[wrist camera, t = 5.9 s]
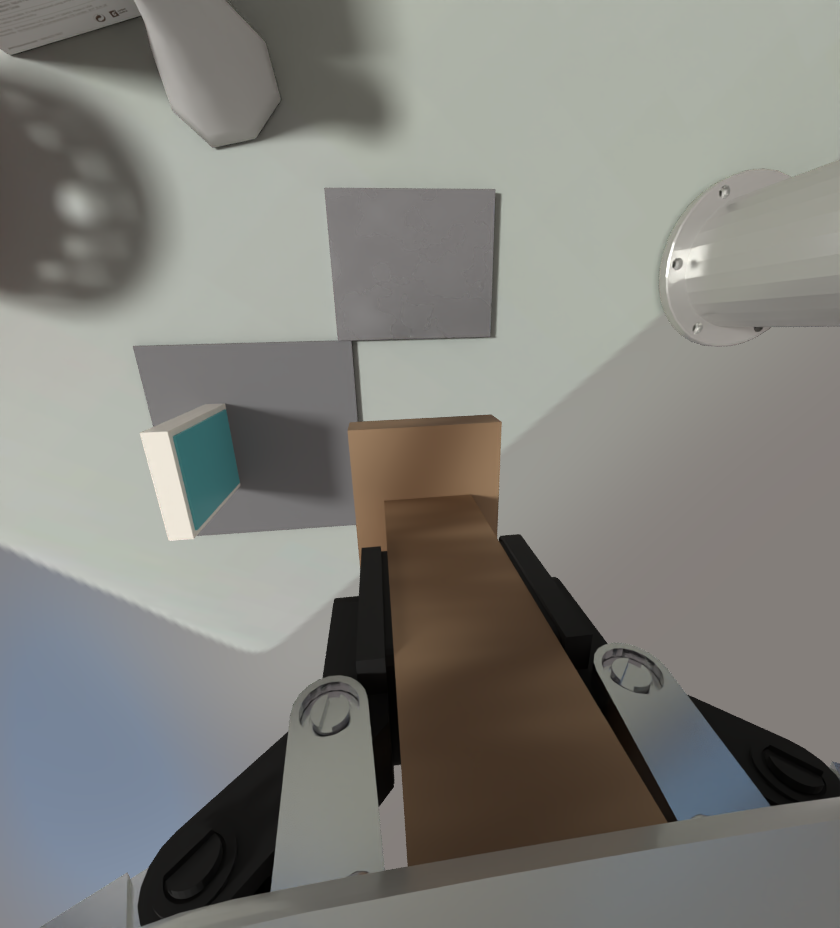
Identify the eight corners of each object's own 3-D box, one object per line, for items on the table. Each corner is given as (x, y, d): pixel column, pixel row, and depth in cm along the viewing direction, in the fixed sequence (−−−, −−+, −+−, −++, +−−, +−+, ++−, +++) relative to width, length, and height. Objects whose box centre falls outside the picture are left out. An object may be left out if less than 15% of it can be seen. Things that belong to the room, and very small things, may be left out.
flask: (301, 109, 26) (258, -18, 16) (212, 171, 26) (121, 84, 17) (228, -25, 23) (128, -264, 14) (132, 48, 24) (-27, -135, 14)
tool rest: (492, 192, 28) (495, 189, 28) (488, 336, 32) (490, 336, 31) (325, 190, 27) (324, 187, 27) (338, 340, 30) (338, 340, 30)
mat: (351, 340, 31) (351, 340, 30) (365, 522, 36) (365, 524, 35) (135, 346, 29) (132, 346, 29) (183, 534, 34) (181, 536, 34)
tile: (227, 403, 31) (170, 431, 22) (242, 485, 33) (196, 538, 25) (205, 404, 31) (139, 432, 22) (222, 486, 33) (168, 540, 24)
